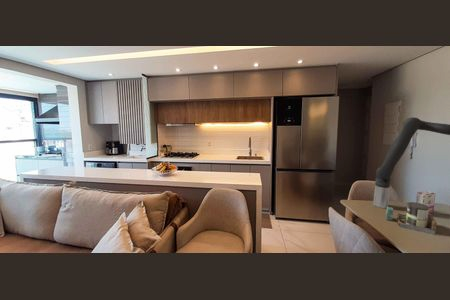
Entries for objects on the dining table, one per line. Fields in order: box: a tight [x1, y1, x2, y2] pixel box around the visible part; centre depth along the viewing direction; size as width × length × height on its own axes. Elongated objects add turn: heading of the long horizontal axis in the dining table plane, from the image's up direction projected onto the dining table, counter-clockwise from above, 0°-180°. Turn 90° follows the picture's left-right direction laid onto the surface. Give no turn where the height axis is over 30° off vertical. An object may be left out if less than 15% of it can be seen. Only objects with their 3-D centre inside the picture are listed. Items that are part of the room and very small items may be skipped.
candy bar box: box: [415, 190, 436, 215], centre depth 144 cm, size 11×5×16 cm, turn 101°
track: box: [396, 212, 436, 235], centre depth 129 cm, size 16×18×2 cm
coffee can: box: [405, 201, 429, 228], centre depth 128 cm, size 10×10×14 cm
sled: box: [385, 206, 437, 232], centre depth 131 cm, size 23×15×8 cm, turn 54°
